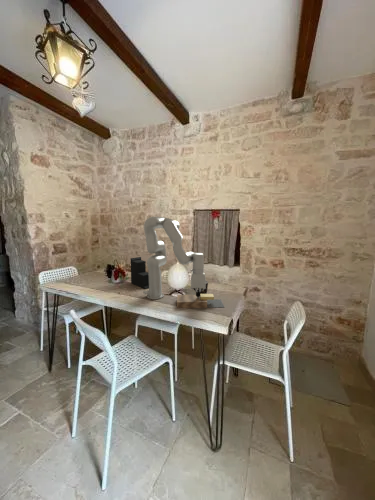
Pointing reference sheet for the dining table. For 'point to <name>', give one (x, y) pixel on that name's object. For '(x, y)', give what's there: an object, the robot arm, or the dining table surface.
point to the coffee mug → (204, 289)
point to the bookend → (139, 273)
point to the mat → (215, 303)
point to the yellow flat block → (206, 296)
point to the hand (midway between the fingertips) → (198, 296)
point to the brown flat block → (190, 302)
